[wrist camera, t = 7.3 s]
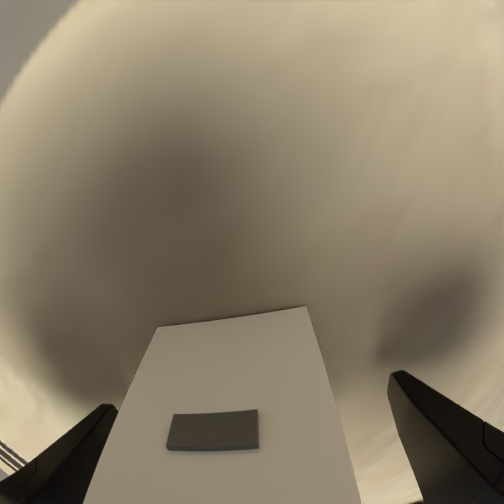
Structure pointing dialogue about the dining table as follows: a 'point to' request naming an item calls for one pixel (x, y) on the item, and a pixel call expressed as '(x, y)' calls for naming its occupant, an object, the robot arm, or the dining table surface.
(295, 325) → the charger
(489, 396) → the dining table surface
